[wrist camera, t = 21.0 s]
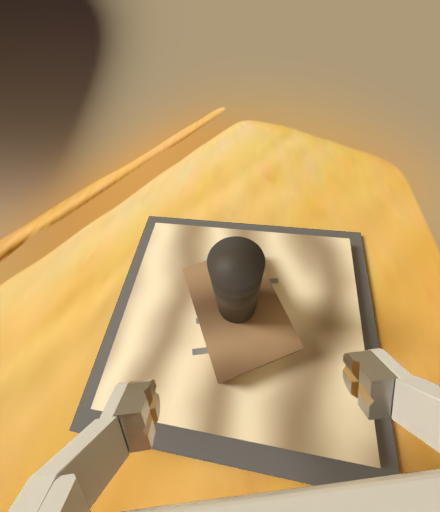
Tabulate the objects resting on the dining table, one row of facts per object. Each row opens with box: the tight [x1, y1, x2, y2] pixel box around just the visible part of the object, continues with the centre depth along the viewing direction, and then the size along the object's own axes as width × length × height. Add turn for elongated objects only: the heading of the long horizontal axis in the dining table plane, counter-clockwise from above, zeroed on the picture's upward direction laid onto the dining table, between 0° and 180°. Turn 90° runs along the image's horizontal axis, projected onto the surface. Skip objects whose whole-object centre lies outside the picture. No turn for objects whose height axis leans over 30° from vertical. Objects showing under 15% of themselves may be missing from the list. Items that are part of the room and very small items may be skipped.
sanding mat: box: [69, 216, 400, 485], centre depth 23 cm, size 26×23×1 cm
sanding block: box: [182, 236, 304, 384], centre depth 17 cm, size 10×7×10 cm
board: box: [91, 223, 381, 468], centre depth 23 cm, size 22×19×2 cm
